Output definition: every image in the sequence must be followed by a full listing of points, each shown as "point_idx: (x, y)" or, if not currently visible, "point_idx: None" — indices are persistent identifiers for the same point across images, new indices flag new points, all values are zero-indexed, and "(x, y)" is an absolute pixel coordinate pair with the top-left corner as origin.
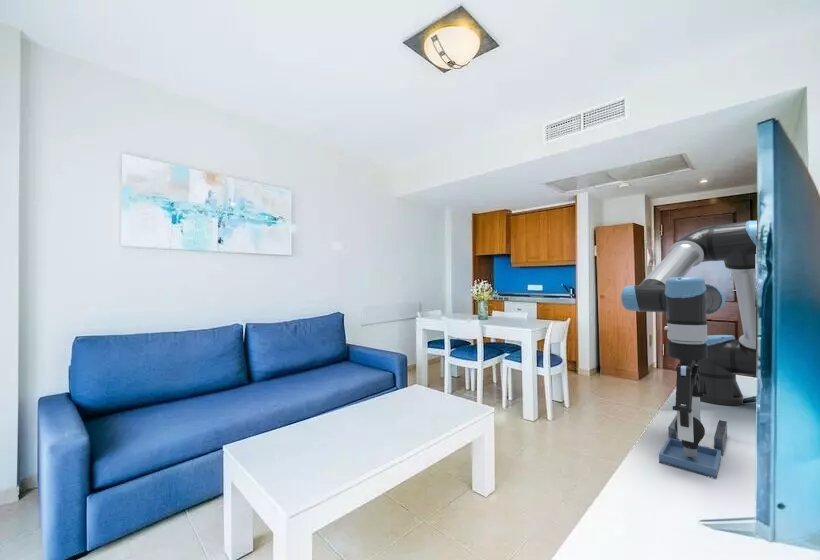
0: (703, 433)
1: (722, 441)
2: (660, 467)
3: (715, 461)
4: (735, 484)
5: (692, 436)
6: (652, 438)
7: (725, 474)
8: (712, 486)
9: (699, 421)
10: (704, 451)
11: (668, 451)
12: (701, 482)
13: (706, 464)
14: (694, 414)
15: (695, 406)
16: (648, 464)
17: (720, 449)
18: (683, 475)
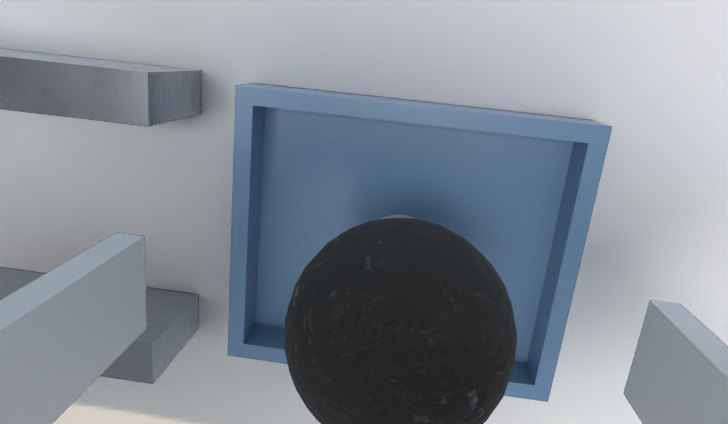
0: (449, 233)
1: (155, 73)
2: (600, 364)
3: (468, 125)
4: (608, 33)
5: (709, 333)
6: (192, 399)
7: (488, 74)
8: (710, 145)
9: (406, 298)
10: (258, 169)
11: None
12: (686, 192)
13: (438, 163)
14: (99, 312)
15: (34, 350)
16: (595, 413)
17: (182, 84)
18: (642, 269)
